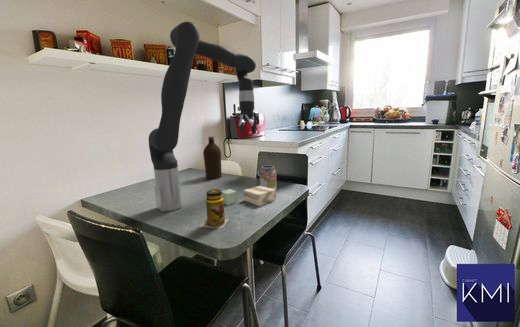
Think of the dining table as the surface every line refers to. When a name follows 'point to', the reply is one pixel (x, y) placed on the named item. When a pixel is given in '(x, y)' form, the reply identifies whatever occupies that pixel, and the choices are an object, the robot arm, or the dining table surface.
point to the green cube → (229, 196)
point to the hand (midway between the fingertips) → (247, 133)
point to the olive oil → (212, 160)
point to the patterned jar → (267, 176)
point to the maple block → (259, 195)
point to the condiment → (214, 210)
